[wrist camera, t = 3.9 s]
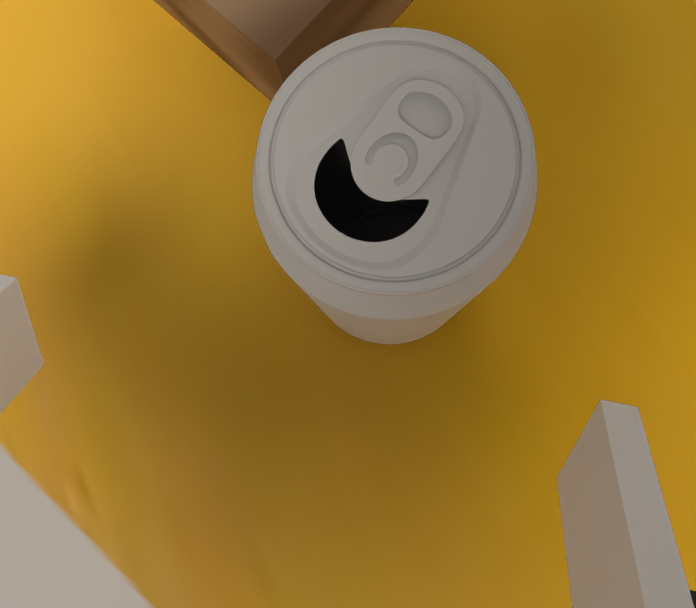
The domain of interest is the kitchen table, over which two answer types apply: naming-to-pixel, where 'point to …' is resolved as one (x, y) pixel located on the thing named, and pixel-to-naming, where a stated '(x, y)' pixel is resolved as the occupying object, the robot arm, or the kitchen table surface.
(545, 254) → the kitchen table surface
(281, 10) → the walnut riser
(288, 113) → the beverage can
